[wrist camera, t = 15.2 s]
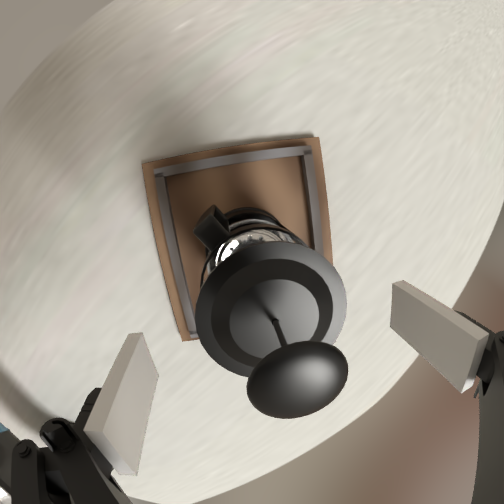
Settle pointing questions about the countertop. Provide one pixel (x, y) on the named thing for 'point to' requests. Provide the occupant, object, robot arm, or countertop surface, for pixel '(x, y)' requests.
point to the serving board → (232, 205)
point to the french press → (270, 312)
